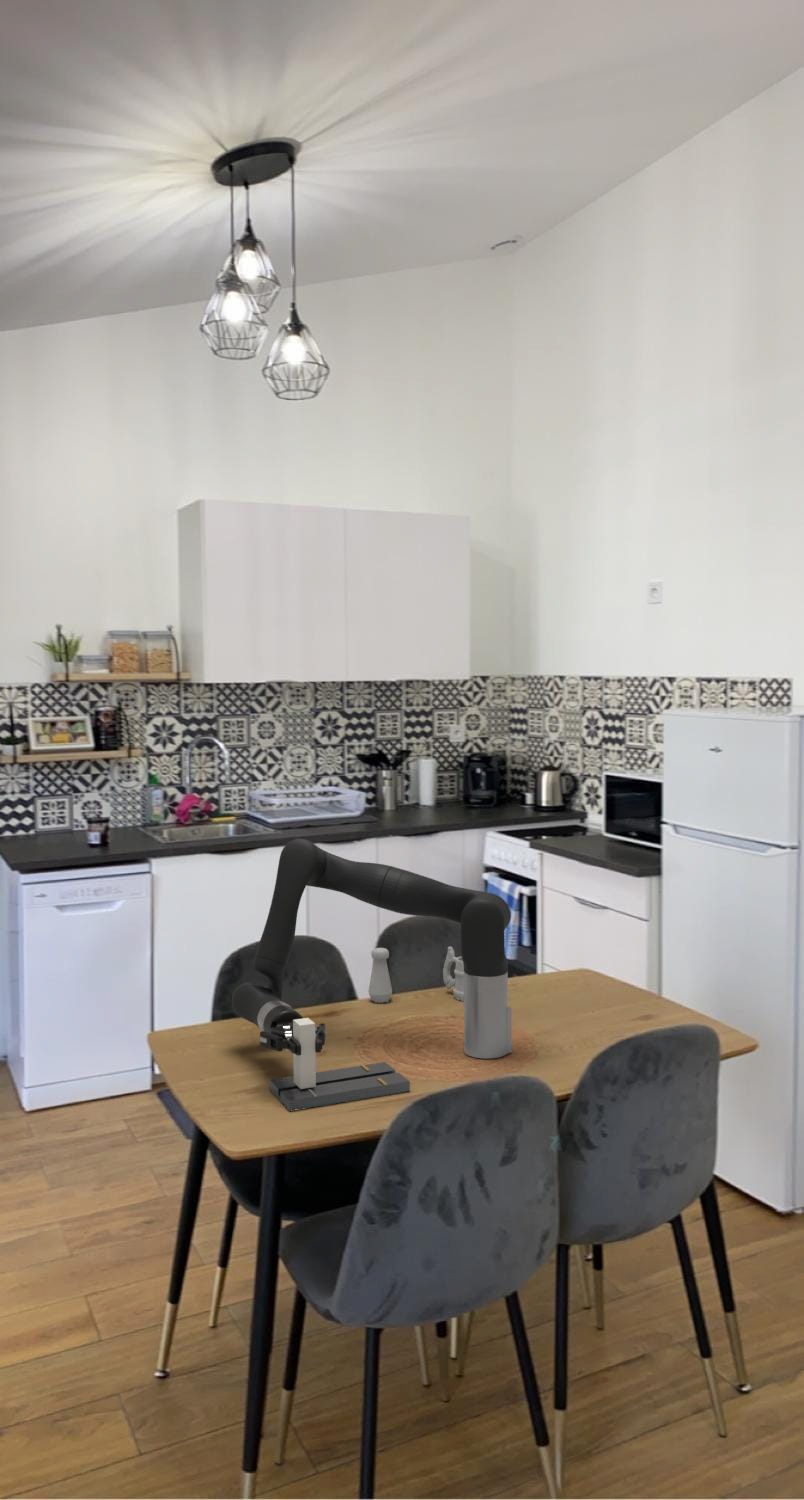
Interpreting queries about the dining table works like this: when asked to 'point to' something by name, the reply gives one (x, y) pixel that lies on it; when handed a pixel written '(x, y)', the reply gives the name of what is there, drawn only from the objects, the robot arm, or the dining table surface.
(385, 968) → the salt shaker
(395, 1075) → the mixer console
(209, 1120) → the dining table surface
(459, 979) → the mug
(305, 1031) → the slider handle
